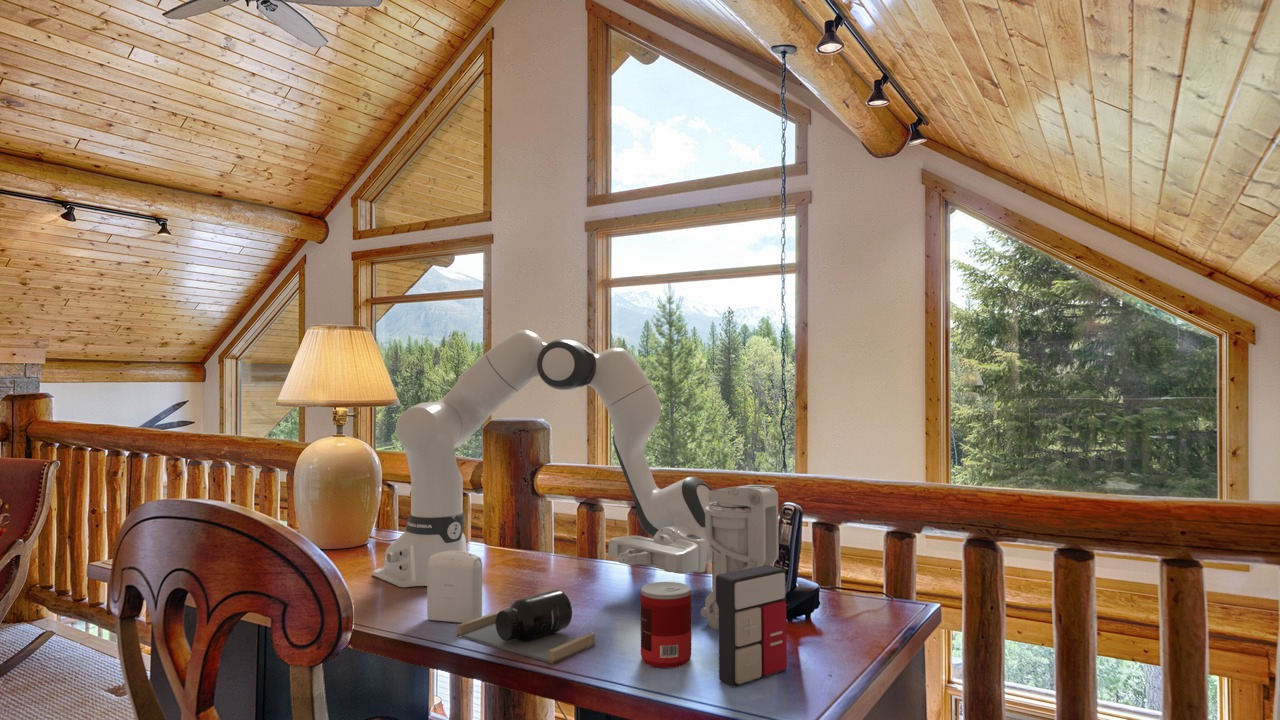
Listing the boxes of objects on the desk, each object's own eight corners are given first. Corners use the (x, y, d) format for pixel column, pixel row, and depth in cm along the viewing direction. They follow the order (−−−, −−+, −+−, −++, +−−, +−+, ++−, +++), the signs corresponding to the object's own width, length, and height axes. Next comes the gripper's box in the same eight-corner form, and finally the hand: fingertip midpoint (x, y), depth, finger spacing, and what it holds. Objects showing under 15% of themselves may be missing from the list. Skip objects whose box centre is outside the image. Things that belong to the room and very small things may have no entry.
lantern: (693, 624, 130) (693, 483, 131) (728, 611, 137) (728, 478, 138) (754, 642, 121) (753, 490, 122) (788, 627, 128) (787, 484, 129)
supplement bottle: (578, 620, 123) (520, 641, 115) (557, 633, 127) (500, 654, 119) (564, 582, 126) (506, 599, 117) (544, 596, 130) (486, 613, 121)
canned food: (701, 658, 113) (701, 587, 114) (668, 673, 108) (668, 598, 108) (663, 646, 119) (663, 578, 119) (630, 660, 113) (630, 588, 113)
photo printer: (423, 621, 132) (423, 552, 132) (435, 614, 136) (436, 547, 136) (474, 626, 129) (474, 555, 129) (485, 618, 133) (486, 550, 134)
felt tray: (456, 635, 124) (456, 624, 124) (499, 620, 132) (500, 610, 132) (553, 663, 111) (553, 651, 111) (594, 645, 119) (594, 633, 119)
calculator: (736, 689, 102) (735, 581, 102) (715, 680, 105) (715, 574, 106) (790, 672, 108) (789, 569, 109) (769, 663, 112) (768, 564, 112)
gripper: (637, 525, 155) (587, 534, 146) (711, 540, 141) (662, 551, 131) (637, 555, 155) (587, 566, 145) (711, 573, 140) (661, 586, 131)
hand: (623, 559), depth 138 cm, fingers closed
